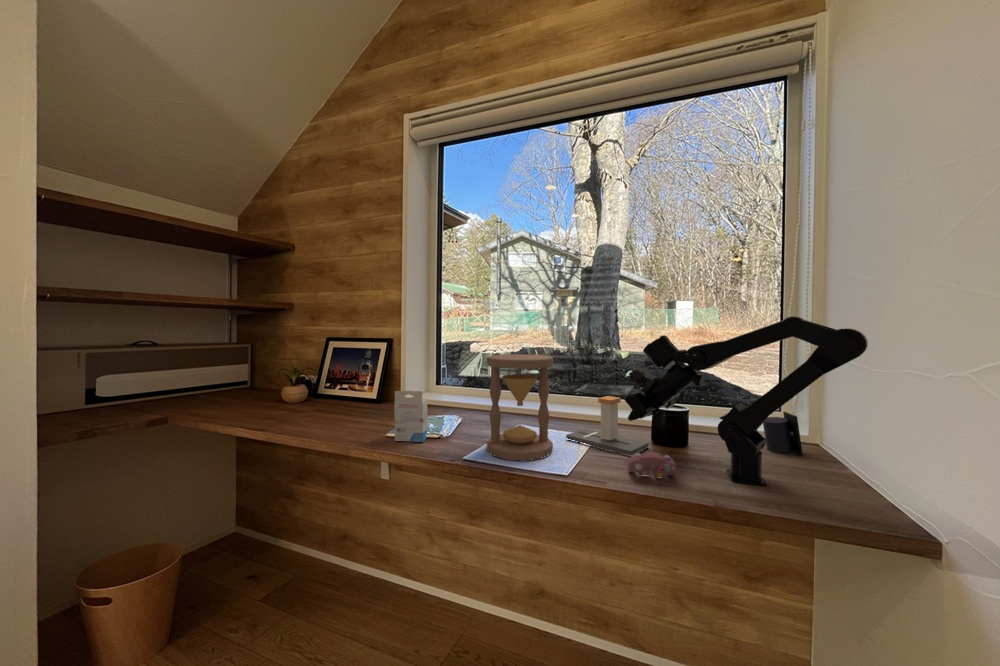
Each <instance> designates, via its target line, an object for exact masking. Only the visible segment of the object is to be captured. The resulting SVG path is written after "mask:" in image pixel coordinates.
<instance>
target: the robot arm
mask: <svg viewBox="0 0 1000 666" xmlns="http://www.w3.org/2000/svg"><path fill="white" fill-rule="evenodd" d="M790 338H796V339H799V340H801V341H804V342H806V343H809V344H812V345H814V346H817V347H816V348H815V350H813V352H812V353H811V355H810V356H809V357H808V359H806V360H805V361H804V362H803V363H802V364H801V365H799V367H797V368H796V369H795V370H793V371H792V372H791V373H790V374H788V375H787V376H786V377H784V378H783V379H782V380H780V382H778V383H776V384H775V385H774V386H773V387H772V388H771V389H769V390H768V391H767V392H765V393H764V394H763V395H761V396H760V397H759V398H758V399H756V401H754V402H752V404H750V405H748V406H745V404H744V403H743V402H740V403H738V404H736V405H735V406H733V407H732V408H731V409H730V410H729V412H727V413H726V414H724V415H722V416H719V419H720V420H721V421H720V422H718V424H717V433H718V435H719V438H721V440H722V441H723V442H724V444H725V446H726V448H727V451H728V453H730V468H726V469H725V470H726V474H727V475H728V478H729V479H730V481H731V482H734V483H741V484H749V485H755V486H756V485H758V486H766V487H767V486H768V482H767V481H766V479H765V478H764V477H763V476H762V475H763V473H762V472H763V471H762V470H763V452H762V451H761V450H763V449H764V448H765V446H766V442H767V440H766V439H765V436H763V435H762V434H761V433H760V432H759V431H758V429H760V428H761V426H762V425H763V422H764V421H765V420H766V418H767V417H770V416H771V415H772V414H773V413H774V412H776V411H777V410H778V409H780V408H781V407H783V406H784V405H786V403H788V402H789V401H790V400H791V399H793V398H795V397H796V396H797V395H798V394H800V393H801V392H803V391H804V390H805V389H806V388H807V387H809V386H811V385H812V384H813V383H814V382H816V381H817V380H818V379H819V378H821V377H822V376H823V375H826V374H828V373H829V372H830V373H831V372H832V371H834V370H835V369H838V368H839V367H842V366H843V365H845V364H847V363H850V362H851V361H853V360H855V359H857V358H859V357H861V356H862V355H864V353H865V352H866V351H867V349H868V346H869V344H868V343H869V342H868V338H867V336H866V335H865V334H864V333H863V332H861V331H860V330H857V329H855V328H850V327H849V328H839V329H835V328H834V327H829V326H826V325H822V324H820V323H816V322H812V321H809V320H806V319H804V318H803V317H800V316H788V317H785V318H784V319H782V320H780V321H777V322H775V323H771V324H768V325H766V326H763V327H760V328H758V329H755V330H754V329H753V330H752V331H748V332H746V333H744V334H740V335H737V336H735V337H732V338H729V339H726V340H720V341H716V342H709V343H704V344H699V345H698V344H697V345H694V346H691V347H689V348H688V349H680V350H679V349H678V348H677V346H675V344H673V343H672V341H671V340H670V338H669V337H668V336H667V335H665V334H664V335H661V336H660V337H658V338H656V339H655V340H653V341H651V342H650V343H648V344H647V345H646V346H645V347H644V348H643V349H642V352H643V353H644V355H645V356H646V357H647V358H648V359H649V360H650V361H651V363H652V364H653V365H654V366H655V367H656V369H662V368H663V370H667V369H668V368H669V369H668V370H667V371H666V372H664V373H663V374H662V375H661V376H656V375H655V374H653V373H651V372H650V371H648V370H646V369H645V368H642V367H636V368H633V369H632V370H631V371H630V372H629V373H628V376H629V379H628V380H629V382H634V383H635V384H636V385H638V386H639V387H642V388H641V391H642V392H643V393H642V392H639V391H633V392H629V393H628V394H626V396H624V401H625V403H626V404H627V405H628V406H629V408H630V409H631V411H630V413H629V415H627V419H628V421H629V422H631V421H636V420H639V419H641V420H642V419H644V418H647V417H651V416H653V415H655V414H658V413H660V412H661V408H663V407H664V408H665V409H666V410H668V409H672V407H673V406H675V405H677V403H676V402H677V401H676V398H677V397H678V396H680V395H681V394H682V393H681V392H682V391H684V390H685V389H686V388H687V387H689V386H690V385H691V384H692V383H694V385H695V386H696V387H702V386H704V385H705V376H706V375H705V374H704V373H698V372H697V371H705V370H709V369H712V368H715V367H717V366H718V365H720V364H723V363H724V362H726V361H728V360H730V359H731V358H733V357H736V356H737V355H740V354H744V353H746V352H747V353H748V352H750V351H753V350H756V349H759V348H762V347H764V346H768V345H771V344H774V343H777V342H781V341H784V340H787V339H790Z"/></svg>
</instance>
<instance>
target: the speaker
mask: <svg viewBox="0 0 1000 666" xmlns="http://www.w3.org/2000/svg"><path fill="white" fill-rule="evenodd" d="M798 420H799V419H798V416H797V415H794V414H791V413H789V412H787V411H783V417H781V416H780V417H779V416H768V417H767V418H766V420H765V421H764V422H763V423H762V425H763V432H764V438H765V439H766V440H767V442H766V444H765V446H766V450H767V451H768V452H771V453H776V454H788V453H790V452H792V453H794V454H796V455H797V454H798V456H799V457H804V454H803V447H802V442H801V441H802V439H801V434H800V428H799V421H798Z"/></svg>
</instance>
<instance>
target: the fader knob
mask: <svg viewBox="0 0 1000 666" xmlns="http://www.w3.org/2000/svg"><path fill="white" fill-rule="evenodd" d="M621 399H622V398H621V397H618V396H617V397H616V396H611V395H606V396H602V397H598V399H597V400H598V402H597V403H598V404H599V403H600V432H601V439H606V440H610V441H611V440H613V439H616V438H618V436H619V434H618V432H619V420H618V419H619V404H620V403H622V401H621Z"/></svg>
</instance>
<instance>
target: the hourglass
mask: <svg viewBox="0 0 1000 666" xmlns="http://www.w3.org/2000/svg"><path fill="white" fill-rule="evenodd" d="M486 364H487V366H488V367H490V385H489V395H490V399H491V403H492V404H491V408H490V412H489V421H490V438H489V439H488V440H487V441H486V448H487V449H486V450H487V452H489V453H488V454H490V453H491V454H492V455H495V456H497V457H500V458H504V459H503V460H505V459H510V460H509V461H511V460H530V461H532V460H531V459H538V458H541V457H544V456H547V455H548V454H550V453H551V452H553V450H552V449H554V443H553V441H552V440H551V439H550V438H549V429H548V428H549V421H550V411H549V407H548V404H547V403H548V398H549V394H550V383H549V368H550V367H552V366H553V365H554V357H553V356H549V355H544V354H543V355H542V354H528V353H527V354H525V353H524V354H522V353H521V354H519V353H517V354H514V353H513V354H511V353H510V354H495V355H489V356H487V357H486ZM500 369H508V370H509V369H512V370H513V369H514V370H518V369H519V370H530V369H531V370H533V369H539V377H538V375H534V374H523V373H522V374H519V373H518V374H517V373H516V374H512V373H511V374H506V375H502V376H501V377H502V379H503V382H504V383H505V385H506V387H507V388H508V390H509V391H510V393H511V394H512V396H513V397H514V398H515V400H516V402H517V403H516V406H517V407H523V406H524V400H525V398H526V397H527V396H528V395H529V394H530V391H531V390H532V389H533V387H534V385H535V384H536V383H537V380H538V378H539V380H538V385H537V393H538V396H539V397H538V398H539V401H540V405H539V408H538V413H537V418H538V427H539V429H538V430H539V431H538V432H539V433H538V432H536V431H535V430H534V429H531V428H529V427H526V426H524V425H521V424H519V425H517V426H514V427H511V428H508V429H506V430H503V433H502V434H500V433H501V432H500V428H501V427H500V426H501V420H502V419H501V418H502V413H501V409H500V406H499V405H500V404H499V402H500V398H501V394H502V388H501V387H502V385H501V381H500V378H501V377H500V375H501V373H500ZM537 433H538V434H537ZM491 454H490V455H491ZM551 454H552V453H551ZM551 454H550V455H551ZM548 456H549V455H548ZM548 456H547V457H548ZM497 457H496V458H497ZM500 458H499V459H500ZM541 459H542V458H541ZM538 460H539V459H538Z"/></svg>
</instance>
